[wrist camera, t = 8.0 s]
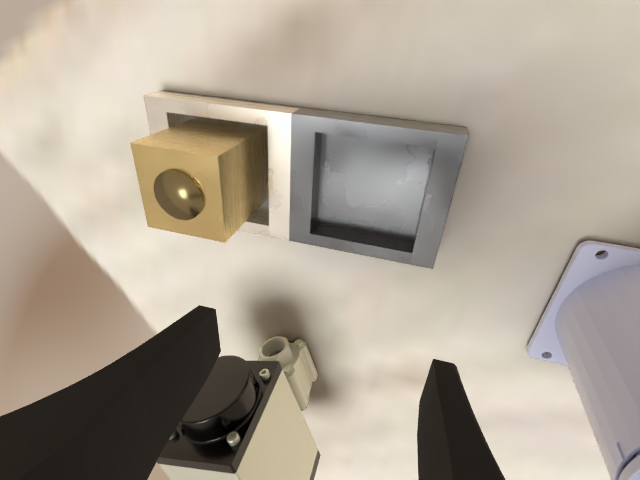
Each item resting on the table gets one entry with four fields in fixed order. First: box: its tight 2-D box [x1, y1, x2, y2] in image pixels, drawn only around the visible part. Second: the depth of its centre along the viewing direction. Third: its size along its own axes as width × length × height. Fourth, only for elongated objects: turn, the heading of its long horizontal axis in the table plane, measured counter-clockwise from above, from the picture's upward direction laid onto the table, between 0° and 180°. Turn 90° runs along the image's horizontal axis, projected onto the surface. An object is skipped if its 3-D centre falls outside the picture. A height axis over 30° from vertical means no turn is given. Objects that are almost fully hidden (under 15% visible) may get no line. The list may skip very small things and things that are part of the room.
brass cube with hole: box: [130, 118, 266, 242], centre depth 19 cm, size 4×4×5 cm
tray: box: [144, 91, 468, 269], centre depth 20 cm, size 16×7×2 cm, turn 88°
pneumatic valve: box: [157, 336, 320, 480], centre depth 23 cm, size 6×12×12 cm, turn 18°
